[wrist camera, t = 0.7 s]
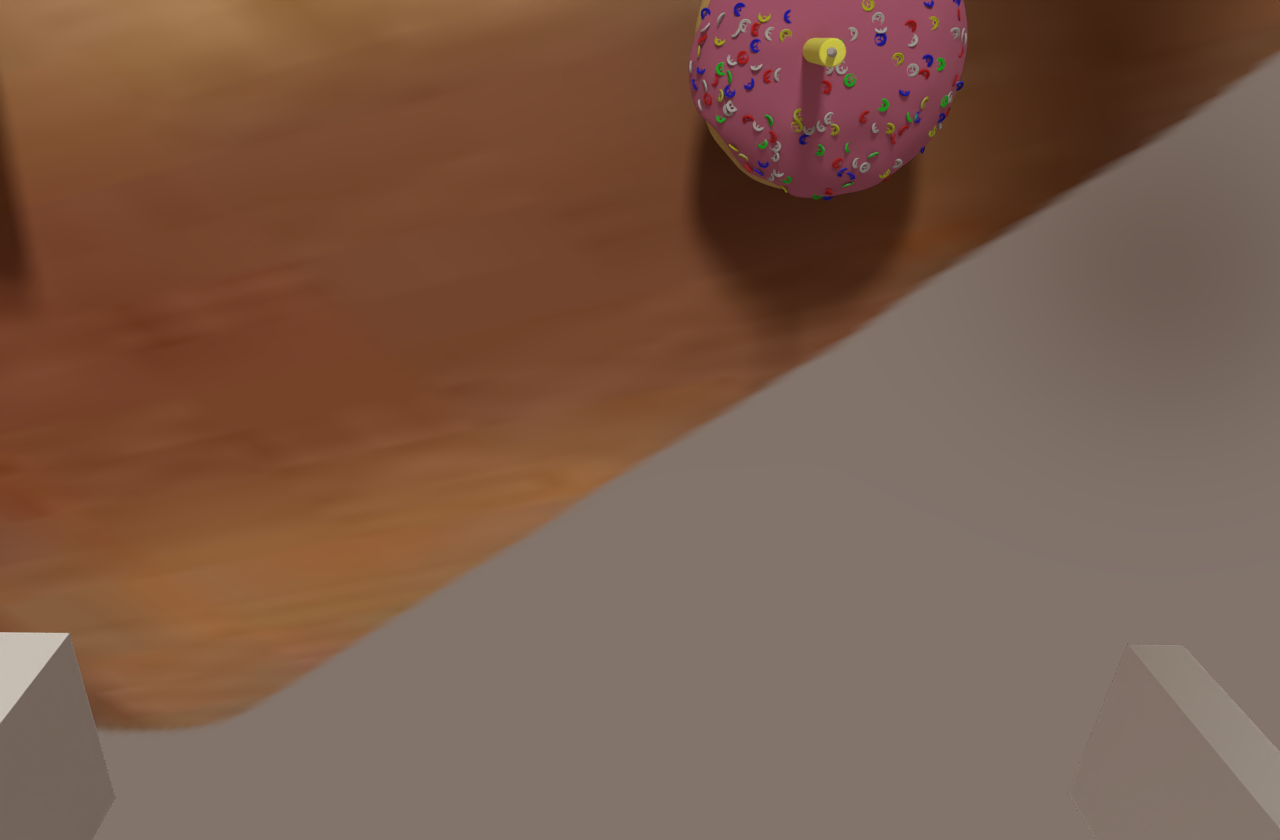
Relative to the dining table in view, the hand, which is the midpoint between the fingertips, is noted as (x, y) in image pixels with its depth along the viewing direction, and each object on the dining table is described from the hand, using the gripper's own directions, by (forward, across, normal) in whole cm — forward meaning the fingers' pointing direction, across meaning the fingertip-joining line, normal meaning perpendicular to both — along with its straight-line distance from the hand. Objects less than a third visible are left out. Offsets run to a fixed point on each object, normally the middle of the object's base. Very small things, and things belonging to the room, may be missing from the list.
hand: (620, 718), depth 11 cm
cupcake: (+25, +7, +7) cm, 27 cm away
